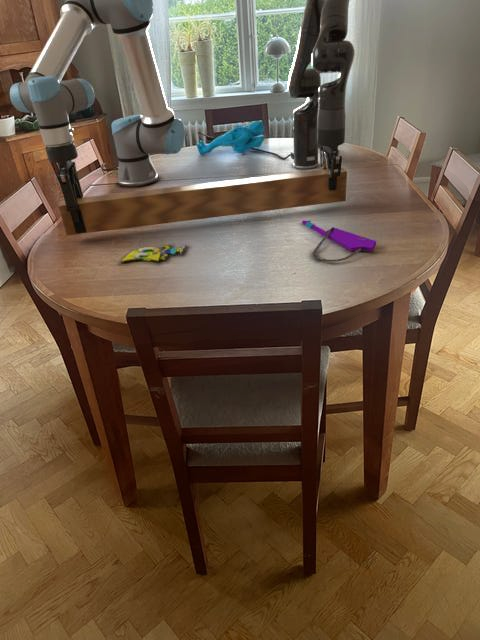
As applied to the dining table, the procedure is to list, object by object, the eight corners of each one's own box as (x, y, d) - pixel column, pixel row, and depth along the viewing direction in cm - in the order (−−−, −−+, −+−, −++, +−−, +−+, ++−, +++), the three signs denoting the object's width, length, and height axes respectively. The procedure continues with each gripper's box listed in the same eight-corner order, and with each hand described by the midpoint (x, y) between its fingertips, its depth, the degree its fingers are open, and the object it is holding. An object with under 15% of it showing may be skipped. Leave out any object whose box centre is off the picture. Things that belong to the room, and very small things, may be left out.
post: (66, 235, 134) (58, 206, 129) (69, 229, 138) (61, 200, 134) (345, 201, 140) (347, 171, 136) (340, 195, 144) (341, 167, 140)
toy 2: (202, 134, 216) (265, 114, 206) (210, 157, 221) (271, 139, 211) (191, 144, 203) (258, 123, 192) (200, 168, 208) (265, 149, 197)
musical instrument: (359, 272, 111) (387, 230, 123) (358, 264, 110) (387, 222, 122) (269, 260, 124) (303, 223, 136) (267, 253, 122) (302, 216, 134)
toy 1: (177, 259, 120) (120, 260, 122) (177, 262, 121) (121, 263, 123) (186, 242, 129) (132, 243, 131) (186, 245, 129) (133, 246, 131)
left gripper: (68, 150, 116) (92, 239, 129) (79, 134, 131) (99, 215, 144) (37, 153, 116) (63, 242, 128) (51, 138, 131) (74, 218, 143)
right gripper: (353, 129, 125) (350, 193, 134) (336, 119, 137) (334, 178, 146) (325, 132, 124) (324, 196, 134) (310, 122, 136) (310, 181, 146)
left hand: (82, 228), depth 136 cm, fingers closed on post, 5 cm apart
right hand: (329, 186), depth 140 cm, fingers closed on post, 5 cm apart
